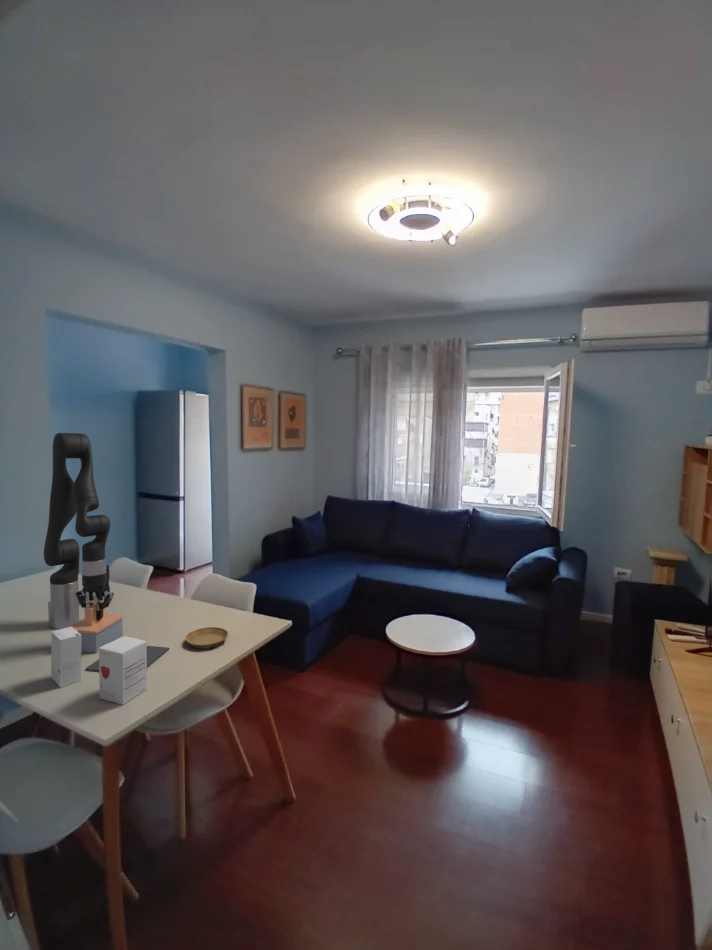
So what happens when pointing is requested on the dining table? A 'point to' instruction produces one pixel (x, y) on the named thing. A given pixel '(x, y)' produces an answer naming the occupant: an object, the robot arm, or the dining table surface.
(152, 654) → the black rubber mat
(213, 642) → the plant saucer
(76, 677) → the skincare box
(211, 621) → the dining table surface
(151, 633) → the dining table surface
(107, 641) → the slate storage box
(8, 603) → the dining table surface
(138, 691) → the supplement box
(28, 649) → the dining table surface
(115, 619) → the peach handled lid
